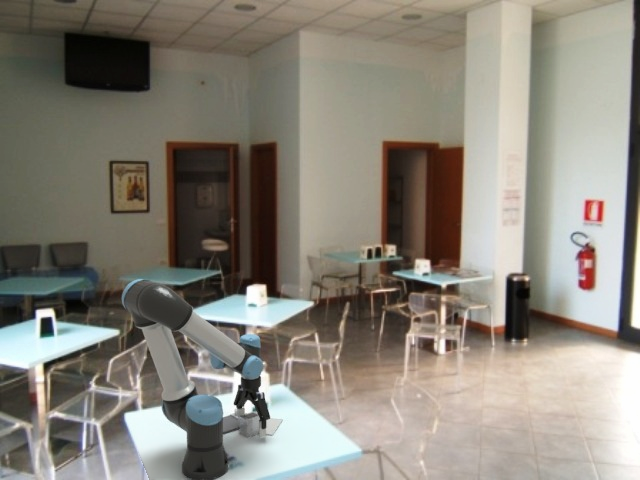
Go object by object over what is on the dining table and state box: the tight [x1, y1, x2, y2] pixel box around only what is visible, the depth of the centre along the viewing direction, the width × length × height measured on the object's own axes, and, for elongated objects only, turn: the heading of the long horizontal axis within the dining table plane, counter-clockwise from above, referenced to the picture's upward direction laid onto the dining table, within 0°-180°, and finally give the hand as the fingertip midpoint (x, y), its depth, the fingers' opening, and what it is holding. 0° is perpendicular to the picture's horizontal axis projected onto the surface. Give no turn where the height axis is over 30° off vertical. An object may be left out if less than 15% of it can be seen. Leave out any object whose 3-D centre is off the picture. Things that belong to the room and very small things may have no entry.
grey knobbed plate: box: [223, 408, 247, 435], centre depth 227 cm, size 16×12×4 cm
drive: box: [238, 411, 260, 439], centre depth 219 cm, size 7×5×7 cm
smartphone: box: [266, 417, 284, 437], centre depth 226 cm, size 7×1×15 cm
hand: (251, 430), depth 220 cm, fingers open, 13 cm apart
